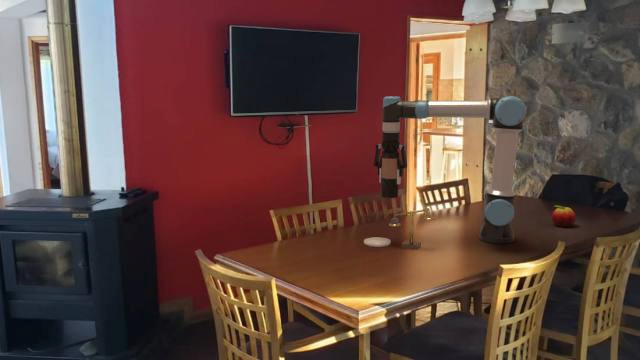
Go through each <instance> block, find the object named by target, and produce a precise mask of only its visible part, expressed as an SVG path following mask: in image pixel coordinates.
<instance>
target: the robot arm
mask: <svg viewBox="0 0 640 360" xmlns="http://www.w3.org/2000/svg"><path fill="white" fill-rule="evenodd" d="M382 100H383V101H382V131H383V132H382V133H381V135H382V137H381V139H382V140H381V143H380V144H379V143H378V144H375V156H374V162H373V166H374V167H375V168H377V175H378V176H379V182H378V183H380V184H382V155H381V149H382V150H383V151H382V152H383V153H398V152H399V150H400V154H401V155H400V156H401V157H400V156H399V157H398V156H397V165H398V167H399V169H397V184H398V185H401V182H402V181H401V180H402V177H403V176H404V175H403V174H404V169H406V168H408V161H407V154H406V153H407V152H406V150H407V145H402V144H401V143H400V127H401V126H400V125H401V119H412V120H413V119H414V120H416V119H418V120H421V119H422V120H423V119H424V120H425V119H427V118H465V119H466V118H467V119H469V118H472V119H473V118H475V119H477V118H479V119H480V118H481V119H487V121H493V130H495V132H496V135H495V136H496V137H495V145H494V154H493V155H494V156H493V165H492V176H491V183H490V184H491V185H490V188H489V189H485V190H484V195H483V198H484V199H483V200H484V201H483V202H484V203H483V223H482V226H481V229H480V232H479V236H478V237H479V240H481V241H482V242H484V243H491V244H510V243H513V242H514V241H515V234H514V230H513V228H512V224H511V222H512V220H513V218H514V216H515V199H516V193H515V192H514V191H513V184H514V183H513V182H514V176H515V166H516V165H515V163H516V156H517V147H518V139H519V138H518V137H519V133H521V132H522V131H523V128H524V127H523V126H524V121H525V120H524V119H525V117H526V115H527V114H526V113H527V107H526V105H525V103H524V102H523V100H522V99H520V98H519V97H517V96H515V95H506V96H501V97H489V98H488V99H486V100H481V99H480V100H475V99H474V100H420V99H415V100H401V97H400V96H384V98H383V99H382Z"/></svg>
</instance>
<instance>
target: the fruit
mask: <svg viewBox="0 0 640 360" xmlns="http://www.w3.org/2000/svg"><path fill="white" fill-rule="evenodd" d="M553 207H555V210H553V212H552V215H551V218H552V222H553V224H555V226H557V227H559V228H569V227H571V226H573V225H574V224H575V222H576V213H575V212H574V211H573V209H572V208H570V207H565V206H562V205H557V204H556V205H553Z"/></svg>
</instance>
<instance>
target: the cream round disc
mask: <svg viewBox="0 0 640 360" xmlns="http://www.w3.org/2000/svg"><path fill="white" fill-rule="evenodd" d="M391 241H392V240H391V239H389V238H387V237H380V236H379V237H378V236H377V237H376V236H374V237H367V238H365V239H363V244H364V245H365V246H367V247H371V248H372V247H373V248H381V247H382V248H383V247H387V246H390V245H391V244H392V243H391Z"/></svg>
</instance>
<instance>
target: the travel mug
mask: <svg viewBox="0 0 640 360" xmlns="http://www.w3.org/2000/svg"><path fill="white" fill-rule="evenodd" d="M381 153H382V155H381V156H382V167H381V168H382V183H381V197H382V198H385V199H396V198H398V197H399V184H397V169H399V167H398V165H397V156H398V157H400V151H398V153H383V151H382V152H381Z"/></svg>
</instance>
